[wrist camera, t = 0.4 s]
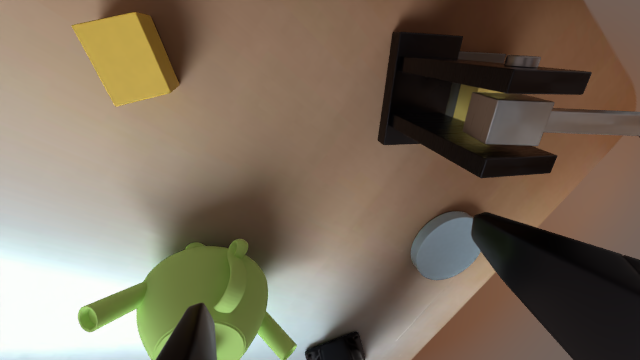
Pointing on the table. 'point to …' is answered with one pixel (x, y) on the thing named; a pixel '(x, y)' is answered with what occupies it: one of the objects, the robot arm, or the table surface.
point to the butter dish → (475, 58)
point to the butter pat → (128, 57)
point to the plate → (444, 246)
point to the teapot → (198, 301)
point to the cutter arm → (538, 120)
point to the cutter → (433, 93)
